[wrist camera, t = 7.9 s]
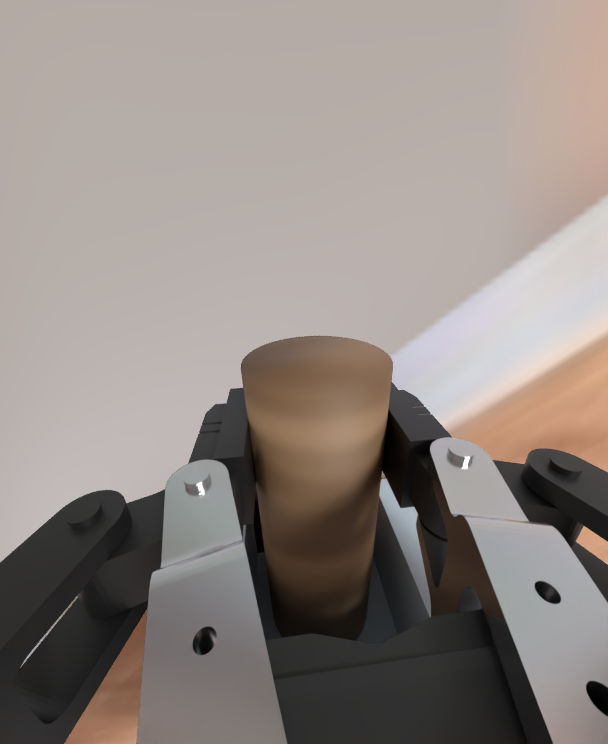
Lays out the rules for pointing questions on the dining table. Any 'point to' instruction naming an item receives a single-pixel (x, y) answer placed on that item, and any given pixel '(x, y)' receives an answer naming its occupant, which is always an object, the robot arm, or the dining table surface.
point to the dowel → (318, 475)
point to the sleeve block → (388, 575)
